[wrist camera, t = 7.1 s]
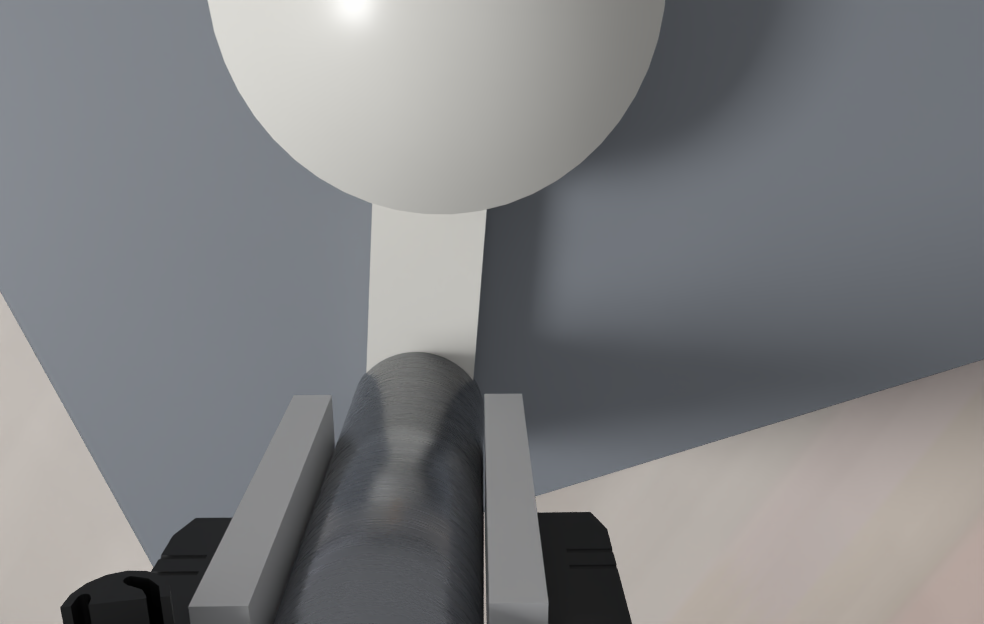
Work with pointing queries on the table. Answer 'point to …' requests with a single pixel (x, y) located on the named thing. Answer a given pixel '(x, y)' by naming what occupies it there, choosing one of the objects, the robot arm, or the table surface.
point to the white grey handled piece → (424, 247)
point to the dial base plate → (495, 242)
